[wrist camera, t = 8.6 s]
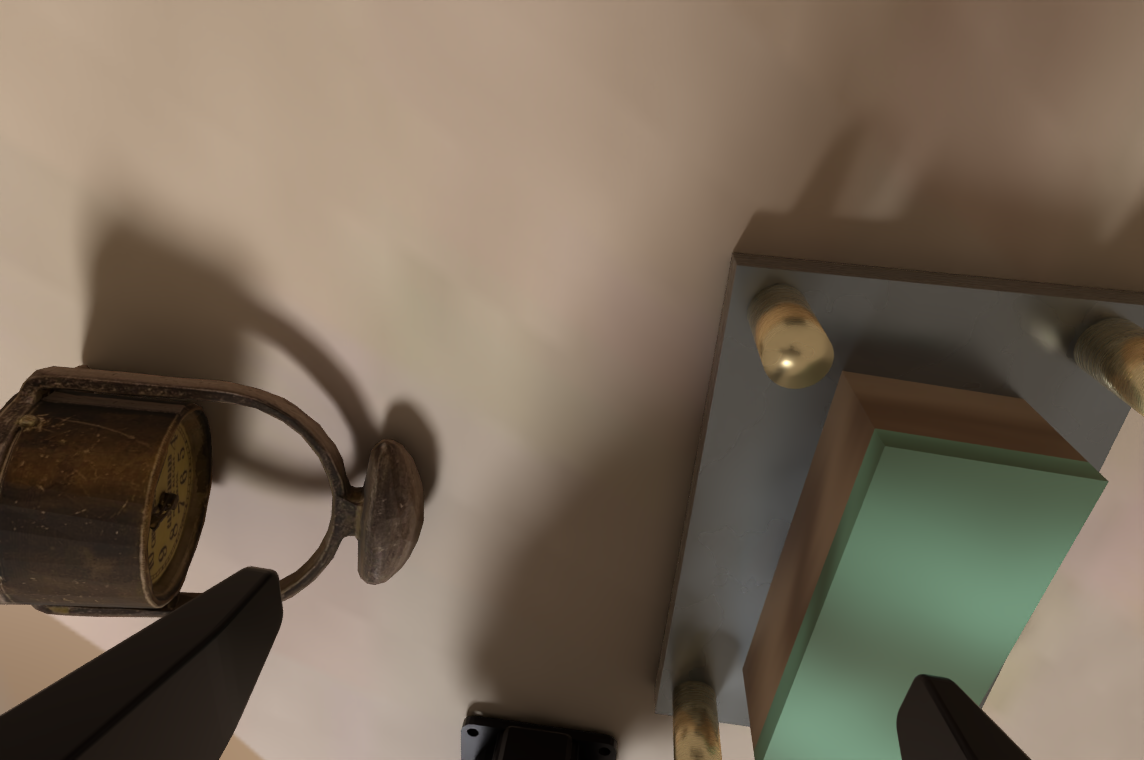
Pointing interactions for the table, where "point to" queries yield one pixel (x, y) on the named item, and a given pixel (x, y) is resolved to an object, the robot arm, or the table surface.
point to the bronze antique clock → (157, 492)
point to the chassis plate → (801, 404)
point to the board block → (908, 561)
